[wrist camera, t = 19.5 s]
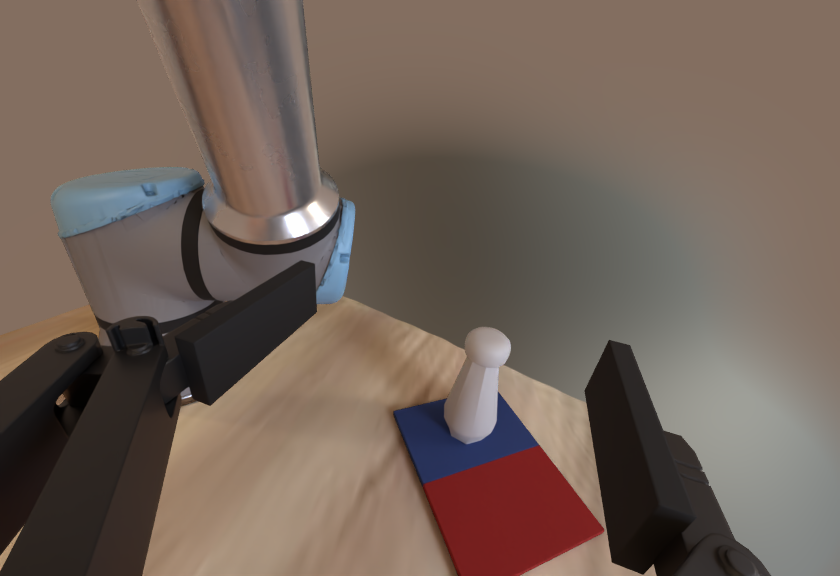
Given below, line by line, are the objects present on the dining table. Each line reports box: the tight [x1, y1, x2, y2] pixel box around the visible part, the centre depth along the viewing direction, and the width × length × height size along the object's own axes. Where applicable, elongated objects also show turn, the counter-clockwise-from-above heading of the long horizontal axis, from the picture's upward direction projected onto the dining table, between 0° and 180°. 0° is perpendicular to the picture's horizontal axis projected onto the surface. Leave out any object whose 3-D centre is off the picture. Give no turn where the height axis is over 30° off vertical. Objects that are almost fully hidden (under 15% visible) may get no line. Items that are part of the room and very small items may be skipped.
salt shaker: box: [444, 327, 511, 444], centre depth 35 cm, size 6×6×13 cm
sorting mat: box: [393, 392, 604, 576], centre depth 35 cm, size 18×14×1 cm
